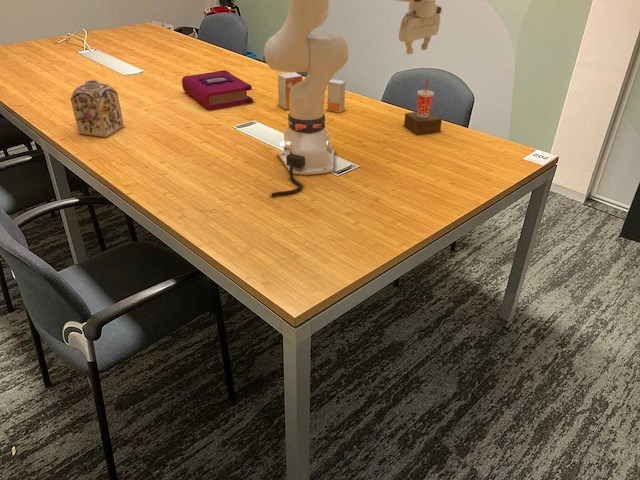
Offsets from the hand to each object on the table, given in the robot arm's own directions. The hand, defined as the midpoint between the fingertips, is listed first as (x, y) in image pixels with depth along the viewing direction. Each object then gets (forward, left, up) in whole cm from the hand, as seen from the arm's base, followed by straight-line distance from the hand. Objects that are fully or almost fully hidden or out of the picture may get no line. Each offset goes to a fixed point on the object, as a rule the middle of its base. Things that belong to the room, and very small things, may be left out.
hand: (416, 51), depth 187 cm
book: (+43, +73, -28) cm, 89 cm away
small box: (+28, +43, -28) cm, 58 cm away
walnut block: (-3, -4, -28) cm, 28 cm away
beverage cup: (-3, -4, -23) cm, 24 cm away
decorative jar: (+9, +115, -28) cm, 118 cm away
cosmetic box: (+21, +25, -28) cm, 43 cm away
